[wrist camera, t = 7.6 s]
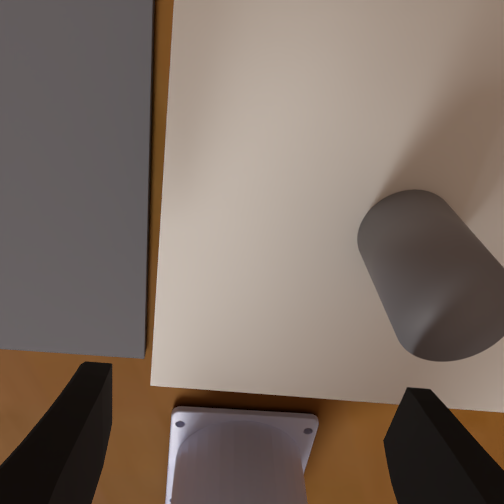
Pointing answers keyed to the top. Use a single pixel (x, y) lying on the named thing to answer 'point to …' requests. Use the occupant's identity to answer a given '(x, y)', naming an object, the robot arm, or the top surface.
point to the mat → (75, 175)
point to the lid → (334, 200)
